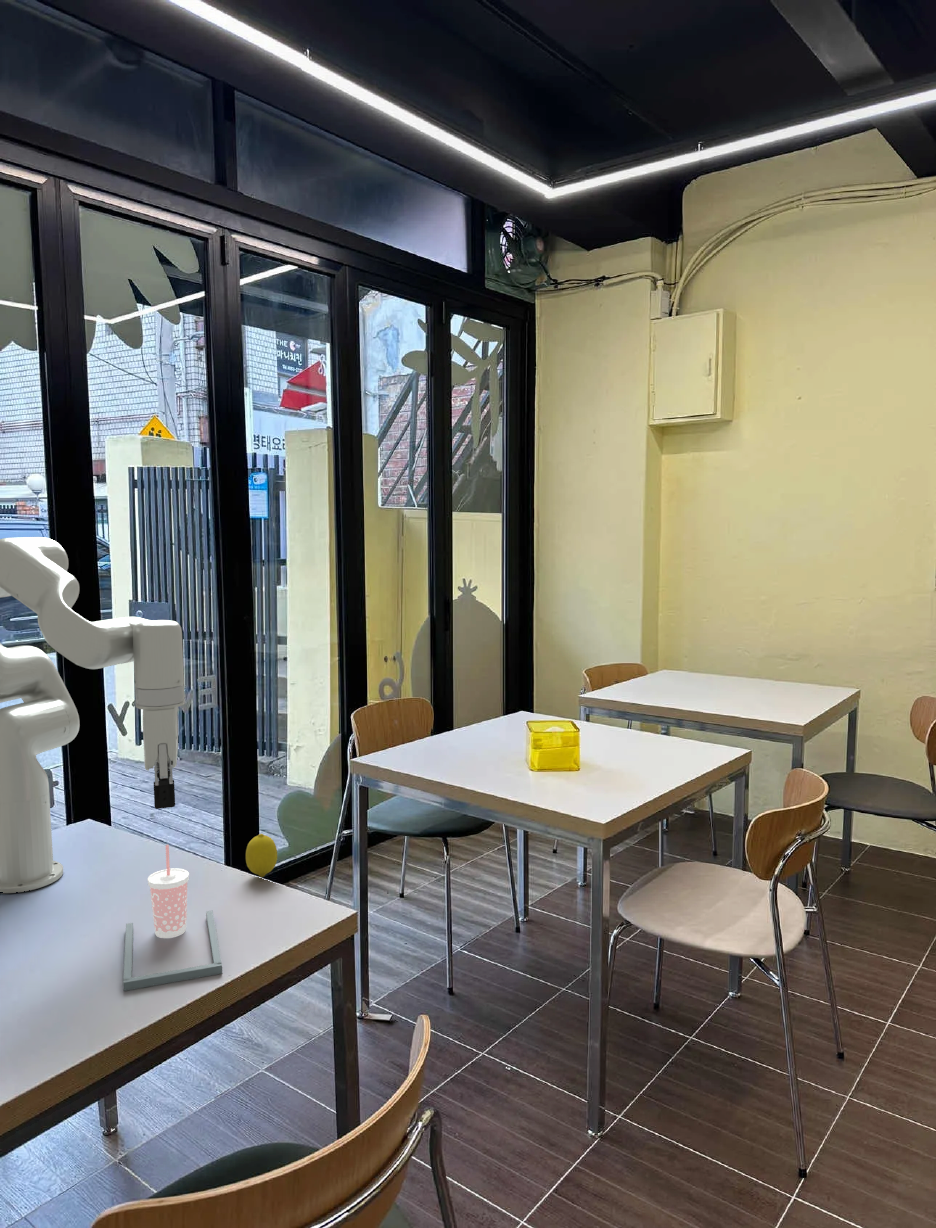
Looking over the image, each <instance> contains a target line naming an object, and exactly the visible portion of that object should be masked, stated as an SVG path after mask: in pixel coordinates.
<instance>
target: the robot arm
mask: <svg viewBox="0 0 936 1228" xmlns="http://www.w3.org/2000/svg"><path fill="white" fill-rule="evenodd" d="M68 569H69V558H68V554H67V552H66V550H65V549H64V548H63V547H62V545H61V544H60V543H59V542H57V541H56V540H53V539H51V538H49V537H44V536H43V537H42V536H28V537H27V536H24V537H23V536H22V537H4V538H0V598H6V597H7V598H8V597H13V598H14V599H16V600H17V601H18V602H20V603H22V604H23V605H24V606H25V607H27V608H28V609H29V610H31V611H33V613H35V614H36V615H37V623H38V627H39V630H40V633H41V634H42V636H43V638H44V640H45V642H46V643H47V644H48V645H49V646H50V647H51V648H52V649H53V650H55V651H56V652H58V654H60V655H61V656H63V657H64V658H66V659H67V660H69V661H70V662H71V663H73V664H74V665H76V666H79V667H81V668H85V669H89V670H98V669H103V668H108V667H112V666H116V665H120V664H121V665H122V664H127V663H131V662H133V672H134V674H133V675H134V688H135V691H134V692H135V693H134V695H135V708H137V709H139V710H142V736H143V760H144V769H145V771H149V772H150V769H154V770H153V771H154V781H153V798H154V799H153V800H154V801H153V802H154V803H153V804H154V809H156V810H158V809H168V808H170V809H171V808H174V807H176V791H175V790H176V789H175V779H173V777H174V776H173V769H175V768H176V767H177V762H178V747H179V743H178V742H179V728H178V727H179V725H178V723H179V722H178V721H179V720H178V707H182V706H184V705H185V701H186V699H185V680H184V679H185V678H184V677H185V676H184V652H183V651H184V650H183V632H182V630H183V629H182V627H181V625H180V624H179V623H178V622H177V621H175V620H169V619H157V620H154V619H153V620H151V619H147V618H142V617H138V616H124V617H116V618H107V619H102V620H96V621H89V620H88V619H87V618H84V617H83V616H82V615H80V614H79V613H77V612H75V611H74V610H73V609H72V608H73V606H74V605H75V603H76V601H77V600H78V598H79V594H80V583H79V581H78V580H77V578H76V577H75V575H73V574H71V573H69V572H68ZM18 699H21V700H22V701H23V702H20V703H17V704H12V705H8V706H5V707H2V708H0V892H3V893H2V894H17V893H16V892H18V893H25V892H30V891H33V890H37V889H41V888H44V887H46V886H49V885H50V884H53V883H54V882H56V881H58V880H59V879H60V878H61V877H62V876H63V874H64V866H63V864H62V863H60V862H58V861H57V860H54V854H53V853H54V852H53V837H52V836H53V835H52V833H53V832H52V820H51V819H52V818H51V800H50V799H51V798H50V784H49V778H48V774H47V772H46V771H45V769H44V768H43V766H42V765H41V763H40V762H39V760H38V758H37V755H40V754H42V753H45V752H47V751H51V750H55V749H57V748H59V747H62V746H66V745H68V744H69V743H71V742H72V741H73V740H75V738H76V737H77V735H78V733H79V731H80V726H81V725H80V715H79V713H78V709H77V707H76V705H75V703H74V700H73V699H72V697H71V694H70V693H69V691H68V689H67V686H66V685H65V682H64V681H63V679H62V677H61V676H60V672H59V670H57V667H56V665H55V664H54V662H53V661H52V659H51V658H50V656H49V655H48V654H47V653H45V652H44V651H43V650H42V649H40V648H39V647H35V646H33V645H17V646H10V647H6V646H4V645H3V644H2V643H1V642H0V704H2V703H7V702H11V701H14V700H18ZM29 890H30V891H29ZM24 891H25V892H24Z"/></svg>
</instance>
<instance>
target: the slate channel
mask: <svg viewBox="0 0 936 1228" xmlns="http://www.w3.org/2000/svg"><path fill="white" fill-rule="evenodd" d="M205 914H206V915H205V916H206V924H207V931H208V938H209V944H210V952H211V956H212V957H211V959H212V963H208V964H203V965H202V964H201V965H196V966H191V967H184V968H180V969H173V970H168V971H163V972H158V973H157V972H155V973H151V974H145V975H140V976H139V975H138V976H135V977H133V953H134V952H133V951H134V950H133V949H134V923H133V922H130V923H129V922H127V923H125V940H124V963H123V983H122V986H123V992H126V991H132V990H133V991H134V990H137V989H143V988H148V987H153V986H154V987H155V986H161V985H166V984H171V983H176V982H181V981H182V982H183V981H187V980H193V979H198V978H203V977H208V976H209V977H211V976H216V975H221V974H223V963H222V957H221V952H220V951H221V950H220V946H219V940H218V935H217V934H218V933H217V928H216V924H215V923H216V922H215V917H214V911H213V910H206V911H205Z"/></svg>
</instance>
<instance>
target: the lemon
mask: <svg viewBox="0 0 936 1228" xmlns="http://www.w3.org/2000/svg"><path fill="white" fill-rule="evenodd" d="M277 861H278V848H277V846H276V843H275V841H274V839H273V838H271V837H270V836H268V835H265V834H263V833H259V834H258V835H256V836H254V837H253V838H252V839H251V840H250V841H249V842H248V843H247V846H246V849H245V863H246V866H247V868H248V870H249V871H250V872H252V874H255V875H258V876H259V877H260V878H264V877H265V876H266V875H267V874H269V873H271V872H272V871H273V869H274V868H275V867H276V865H277Z"/></svg>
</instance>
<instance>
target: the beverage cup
mask: <svg viewBox="0 0 936 1228" xmlns="http://www.w3.org/2000/svg"><path fill="white" fill-rule="evenodd" d="M165 863H166V865H165V866H166V869H160V870H158V871H155V872H153V873H151V874H150V875H148V877H147V885H148V887H149V891H150V899H151V900H150V901H151V908H152V919H153V925H154V934H155V936H156V937H157V938H161V939H172V938H176V937H179V936H181V935H183V934H184V933H185V932H186V931H187V915H188V913H187V911H188V882H189V879H190V877H189V876H190V872H189V871H188V870H186V869H183V868H176V867H175V868H171V867H170V845H169V844H167V843H166V844H165Z"/></svg>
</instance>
